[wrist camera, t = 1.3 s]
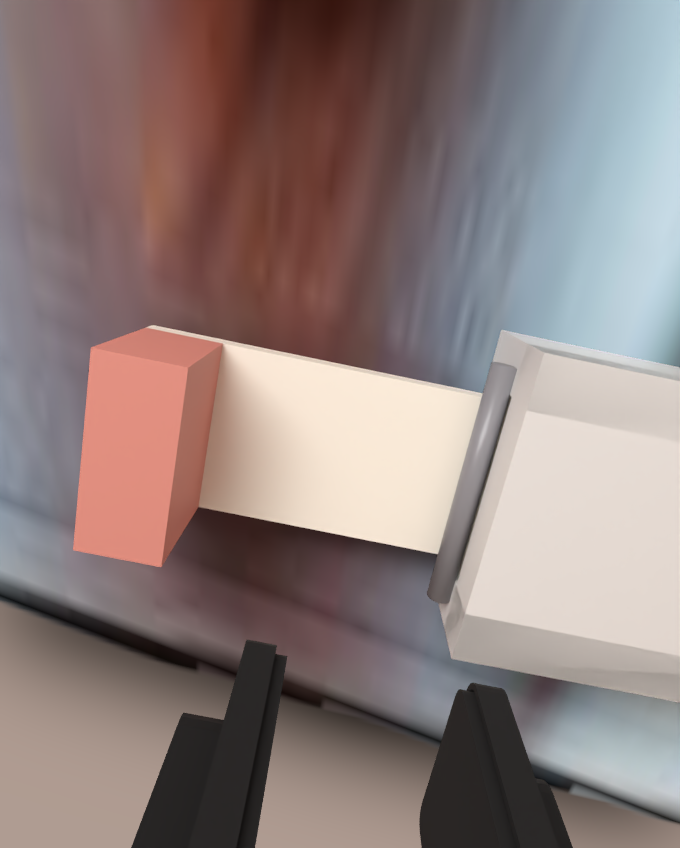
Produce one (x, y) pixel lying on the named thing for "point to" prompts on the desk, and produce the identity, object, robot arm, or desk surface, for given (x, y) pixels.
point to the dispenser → (569, 521)
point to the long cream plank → (261, 445)
